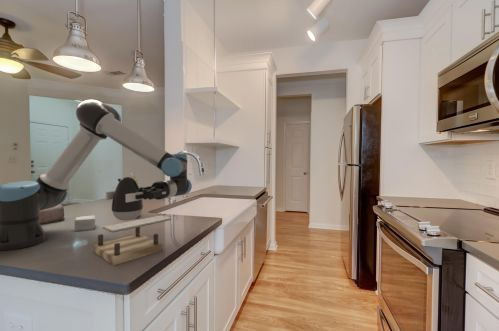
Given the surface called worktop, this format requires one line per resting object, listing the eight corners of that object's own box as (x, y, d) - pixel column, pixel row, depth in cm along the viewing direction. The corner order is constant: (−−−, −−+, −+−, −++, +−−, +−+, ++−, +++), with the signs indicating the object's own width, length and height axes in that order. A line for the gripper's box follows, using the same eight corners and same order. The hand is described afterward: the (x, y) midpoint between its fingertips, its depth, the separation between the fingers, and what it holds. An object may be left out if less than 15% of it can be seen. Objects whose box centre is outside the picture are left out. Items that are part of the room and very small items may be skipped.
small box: (94, 229, 116) (94, 218, 115) (74, 231, 112) (74, 220, 111) (95, 225, 122) (95, 215, 122) (76, 227, 118) (76, 216, 118)
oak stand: (93, 251, 89) (93, 235, 88) (139, 240, 102) (139, 225, 102) (113, 265, 78) (113, 246, 78) (162, 250, 91) (162, 234, 91)
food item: (33, 226, 117) (33, 206, 117) (25, 224, 121) (25, 204, 120) (65, 220, 129) (65, 201, 129) (57, 218, 133) (57, 200, 133)
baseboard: (100, 228, 118) (112, 233, 111) (100, 222, 118) (112, 227, 111) (158, 217, 143) (170, 220, 136) (158, 212, 143) (171, 215, 136)
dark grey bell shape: (131, 214, 97) (131, 175, 96) (148, 217, 91) (148, 176, 91) (105, 219, 88) (104, 177, 87) (122, 224, 82) (122, 178, 82)
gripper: (184, 200, 101) (139, 211, 81) (144, 196, 110) (95, 205, 90) (184, 182, 101) (139, 188, 81) (144, 179, 110) (95, 184, 89)
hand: (116, 197), depth 85 cm, fingers closed on dark grey bell shape, 9 cm apart
